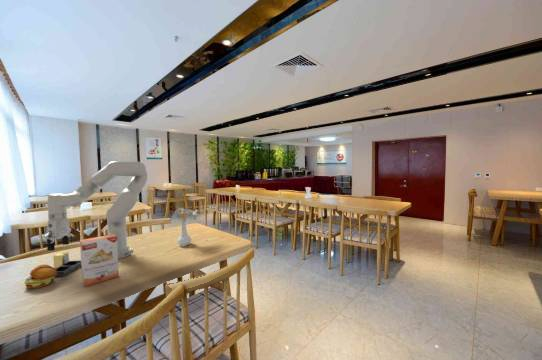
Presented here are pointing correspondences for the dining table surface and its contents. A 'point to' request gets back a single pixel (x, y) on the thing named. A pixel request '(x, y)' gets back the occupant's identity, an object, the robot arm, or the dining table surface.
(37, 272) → the cheeseburger
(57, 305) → the dining table surface
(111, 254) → the cracker box
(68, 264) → the tray
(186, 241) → the flower vase
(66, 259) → the gold block
